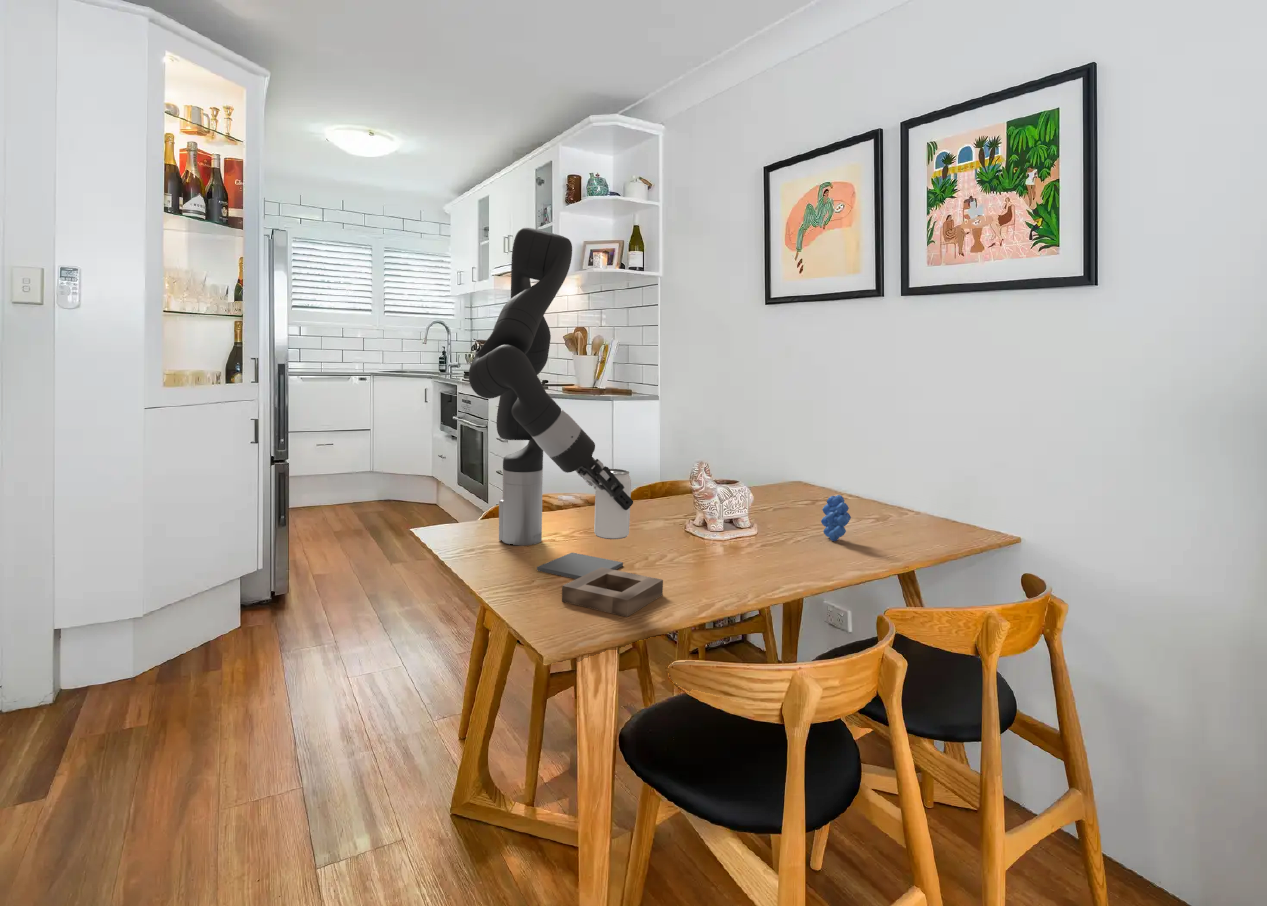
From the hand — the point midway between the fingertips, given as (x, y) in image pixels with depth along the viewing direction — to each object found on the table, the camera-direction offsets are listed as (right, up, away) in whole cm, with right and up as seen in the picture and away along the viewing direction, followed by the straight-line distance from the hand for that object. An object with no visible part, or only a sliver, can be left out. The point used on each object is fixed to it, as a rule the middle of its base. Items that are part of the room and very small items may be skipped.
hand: (621, 502), depth 134 cm
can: (-2, -6, 0) cm, 7 cm away
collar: (-2, -18, +1) cm, 18 cm away
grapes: (+53, -13, +48) cm, 73 cm away
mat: (-9, -15, +18) cm, 25 cm away
